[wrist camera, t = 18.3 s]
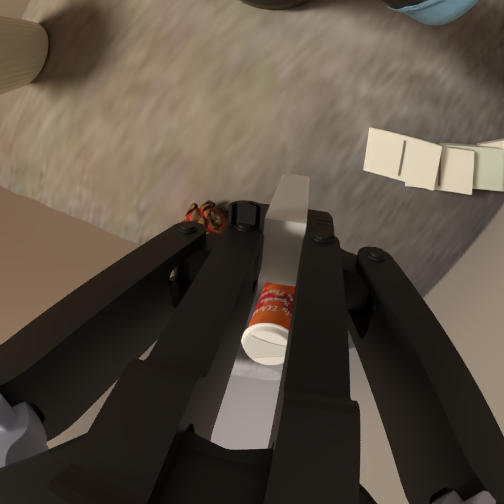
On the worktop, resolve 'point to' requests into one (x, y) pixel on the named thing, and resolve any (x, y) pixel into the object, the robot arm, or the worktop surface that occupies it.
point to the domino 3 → (486, 166)
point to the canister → (20, 52)
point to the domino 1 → (402, 157)
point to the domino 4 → (494, 145)
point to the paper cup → (270, 325)
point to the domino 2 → (454, 170)
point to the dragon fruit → (208, 217)
